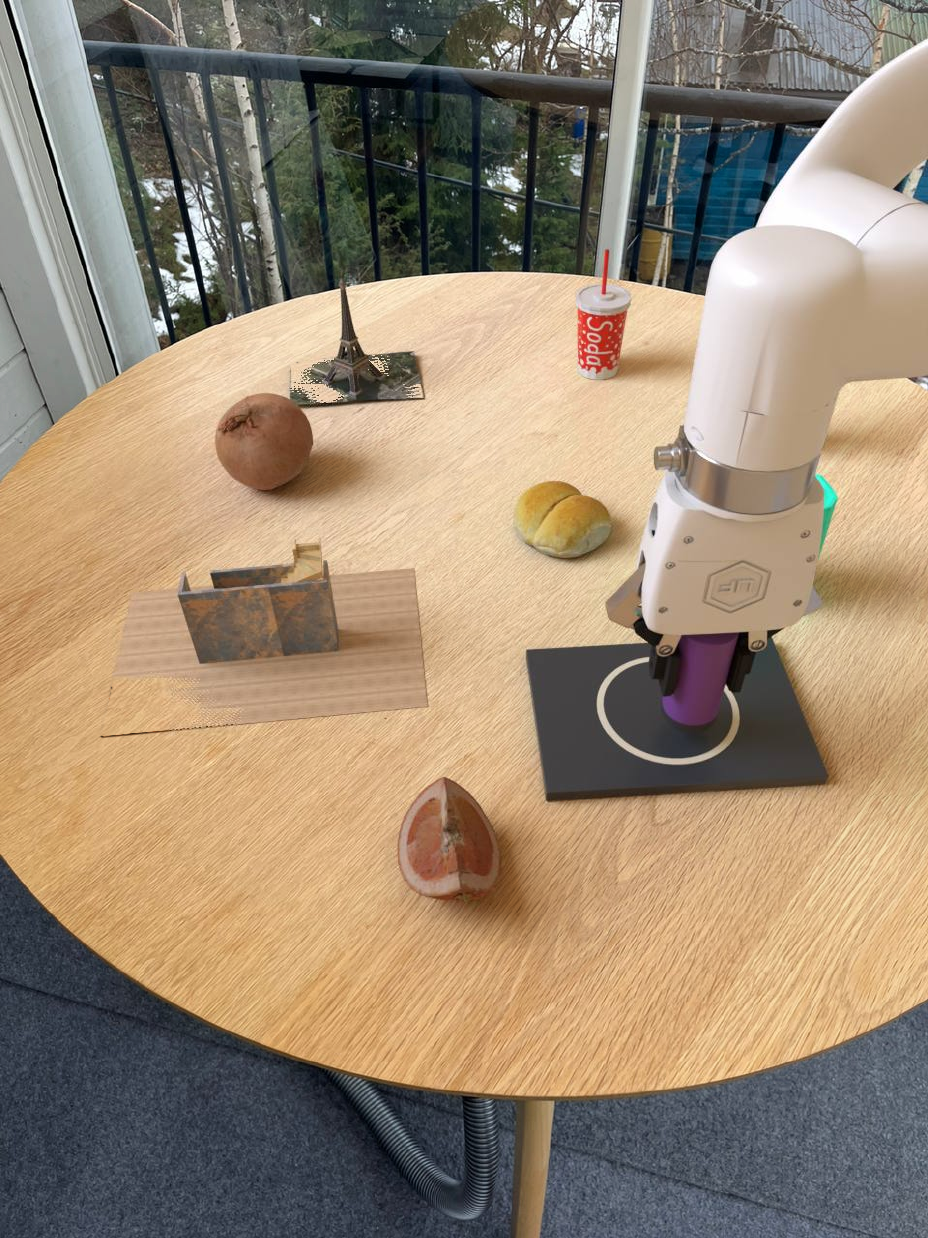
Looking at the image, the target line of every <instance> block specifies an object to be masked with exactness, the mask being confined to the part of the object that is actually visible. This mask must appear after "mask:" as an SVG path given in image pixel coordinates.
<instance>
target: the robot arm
mask: <svg viewBox="0 0 928 1238" xmlns="http://www.w3.org/2000/svg"><path fill="white" fill-rule="evenodd" d="M927 160H928V37H927V38H925V39H923V40H922V41H920V42H919V43H917V44H916V45H914V46H912V47H911V48H909V49H907V50H906V51H904V52H902V53H901V54H899V55H898V56H896V57H895V58H893V59H892V60H890V61H889V62H887V63H885V65H883V66H882V67H880V68H879V69H878V70H876V72H874V73H873V74H871V75H870V76H869V77H867V78H866V79H865V80H864V81H863V82H862V83H861V84H859V86H858V87H856V88H855V89H853V91H852V92H851V93H850V94H849V95H848V96H847V97H846V98H845V99H844V100H843V102H841V104H840V105H838V107H837V108H836V109H835V110H834V111H833V113H832V114H831V115H830V117H828V119H827V120H826V121H825V122H824V124H823V125H822V126H821V127H820V128H819V130H818V131H817V133H815V135H814V136H813V137H812V138H811V140H810V141H809V142H808V143H807V145H806V146H805V148H804V149H803V150H802V151H801V152H800V153H799V155H797V158H796V159H795V160H794V162H793V163H792V164H791V165H790V167H789V168H788V170H787V171H786V173H784V175H783V177H782V178H781V179H780V181H779V182H778V183H777V185H776V187H775V188H774V189H773V191H772V193H771V195H770V196H769V198H768V200H767V201H766V203H765V205H764V207H763V209H762V210H761V212H760V215H759V217H758V220H757V222H756V225H755V226H754V227H752V228H749V229H746V230H743V231H741V232H739V233H736V235H734V236H732V237H731V238H729V239H728V240H727V241H725V243H724V244H722V246H721V247H720V248H719V250H718V251H717V252H716V254H715V256H714V258H713V260H712V262H711V266H710V269H709V275H708V278H707V282H706V290H705V296H704V301H703V307H702V314H701V319H700V326H699V332H698V337H697V341H696V348H695V353H694V354H695V355H694V361H693V365H692V367H693V368H692V371H691V372H692V374H691V377H690V384H689V391H688V397H687V402H686V409H685V415H684V420H683V425H679V429H678V434H677V437H676V438H675V440H674V442H673V443H668V444H667V445H663V446H660V445H659V446H655V447H654V450H653V467H654V469H655V471H665V472H664V474H663V477H662V478H661V480H660V483H659V485H658V488H657V490H656V492H655V495H654V498H653V500H652V503H651V506H650V509H649V510H648V511H649V512H648V514H647V518H646V521H645V525H644V528H643V533H642V537H641V540H640V544H639V549H638V553H637V559H636V564H635V571H634V572H633V573H632V574H631V575H630V576H629V577H628V578H627V579H626V580H625V581H624V583H622V585H620V586H619V587H618V588H617V589H616V590H615V591H614V593H613V594H611V596H610V597H609V598H608V599H607V600H606V601H605V604H604V605H605V610H606V614H607V618H608V620H610V622H612V623H614V624H616V625H619V626H621V627H624V628H626V629H628V630H629V629H631V630H633V631H634V632H635V635H637V636H638V637H640V638H641V639H642V640H644V641H645V643H649V644H651V651H650V657H649V672H650V676H651V679H658V681H659V685H660V688H661V692H662V695H663V697H666V696H671V695H672V694H674V691H675V686H676V681H677V676H678V672H679V667H680V662H681V656H680V653H679V649H678V647H677V645H678V642H679V640H680V638H681V636H682V635H692V634H714V633H733V632H739V635H738V639H737V642H736V646H735V650H734V654H733V658H732V661H731V665H730V669H729V673H728V677H727V680H726V684H727V687H728V690H729V691H731V692H732V693H739V692H741V689H742V685H743V681H744V678H745V674H750V672H751V669H752V665H753V662H754V658H755V655H756V652H757V651H761V650H763V649H764V648H765V647H766V646H767V639H768V638H770V637H772V638H773V637H774V636H775V635H776V634H778V633H780V632H781V631H783V630H784V629H786V628H788V627H791V626H793V625H796V624H797V623H798V622H799V621H801V620H802V618H804V617H805V616H808V615H810V614H812V613H814V612H817V611H818V610H820V609H821V608H822V607H823V604H824V603H823V601H822V598H821V597H820V594H819V592H818V590H817V589H816V587H815V585H814V582H815V577H816V573H817V567H818V562H819V559H818V557H819V558H820V556H819V551H820V543H821V535H822V526H823V515H824V489H823V486H822V485H821V483H820V482H819V481H818V479H817V478H816V477H815V474H816V472H817V469H818V465H819V463H820V458H821V455H822V451H823V448H824V445H825V442H826V438H827V436H828V432H829V428H830V426H831V422H832V419H833V418H832V417H833V415H834V411H835V407H836V404H837V401H838V397H839V395H840V391H841V389H842V388H843V387H844V386H845V385H847V384H849V383H856V382H868V381H883V380H897V379H911V378H919V377H925V376H926V377H927V376H928V204H927V203H925V202H923V201H921V200H919V199H916V198H913V197H912V196H909V195H907V194H904V193H902V192H899V191H898V190H895V187H897V185H898V184H900V183H901V181H903V180H904V179H905V177H906V176H908V175H909V174H910V173H912V172H913V170H915V169H916V168H917V167H919V166H920V165H921V164H922V163H924V162H925V161H927Z"/></svg>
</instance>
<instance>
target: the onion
mask: <svg viewBox="0 0 928 1238" xmlns="http://www.w3.org/2000/svg"><path fill="white" fill-rule="evenodd" d="M312 429H313V428H312V425H311V423H310V421H309V419H308V417H307V414H306V413H304V411H303V410H302V409H301V407H300V406H299V405H298V404H295V403H294V402H293V401H291V400H290V398H288V397H286V396H284V395H281V394H277V393H271V392H260V393H256V394H255V393H254V394H252V395H246V396H245V397H244V398H242V399H240V400H238V401H237V402H236V403H234V404H233V405H231V406H230V407H229V408H228V409H227V410H226V411H225V413H224V414H222V417H221V418H220V420H219V422H218V424H217V427H216V429H215V434H214V435H215V436H214V445H215V451H216V455H217V459H218V461H219V462H220V465H221V466H222V467H223V469H224V470H225V471H226V473H228V474H229V476H230V477H232V478H233V480H235V481H236V482H238V483H239V484H242V485H243V486H246V487H249V488H252V489H256V490H260V491H261V490H262V491H266V490H267V491H268V490H274V489H275V488H278V487H281V486H283V485H285V484H287V483H288V482H290V481H291V480H293V479H294V478H295V477H297V476H298V475H299V474H300V473H301V472H302V471H303V469H305V466H306V464H307V463H308V461H309V459H310V456H311V453H312V449H313V446H314V434H313V430H312Z"/></svg>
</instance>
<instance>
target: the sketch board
mask: <svg viewBox="0 0 928 1238" xmlns="http://www.w3.org/2000/svg"><path fill="white" fill-rule="evenodd" d="M650 651H651V644H649V643H648V642H635V643H619V644H602V645H601V644H599V645H598V644H597V645H583V646H565V647H547V648H530V649H525V662H526V671H527V676H528V681H529V682H528V683H529V691H530V698H531V704H532V711H533V712H532V713H533V719H534V725H535V733H536V741H537V746H538V753H539V760H540V761H539V762H540V767H541V768H540V769H541V776H542V781H543V789H544V796H545V801H546V802H553V801H568V800H570V801H571V800H585V799H601V798H617V797H618V798H619V797H633V796H650V795H651V796H652V795H666V794H668V795H669V794H682V793H683V794H685V793H700V792H701V793H702V792H717V791H719V792H720V791H731V790H733V791H734V790H750V789H751V790H752V789H767V788H783V787H799V786H800V787H801V786H815V785H816V786H818V785H826V784H827V781H828V779H829V776H830V775H829V773H828V770H827V768H826V766H825V763H824V761H823V758H822V756H821V753H820V750H819V748H818V746H817V743H816V742H815V739H814V736H813V734H812V732H811V729H810V726H809V724H808V722H807V719H806V717H805V714H804V712H803V709H802V707H801V705H800V702H799V700H798V697H797V695H796V692H795V690H794V687H793V685H792V682H791V681H790V678H789V675H788V672H787V671H786V668H785V665H784V662H783V660H782V658H781V656H780V653H779V651H778V649H777V646H776V644H775V641H774V638H773V636H772V637H770V638H768V639H767V646H766V647H765V648H764V649H763V650H761V651H757V652H756V655H755V658H754V662H753V665H752V669H751V672H750V674H745V678H744V681H743V685H742V689H741V692H739V693H732V692H731V691H729V690H728V687H727V684H725V688H724V692H723V696H722V700H721V703H720V707H719V711H718V715H717V719H716V721H715V723H714V724H713V726H712V727H710V728H709V729H707V730H705V731H703V732H699V733H687V732H683V731H680V730H677V729H675V728H674V727H672V726H671V725H669V724H668V723H667V722H666V720H665V719H664V717H663V715H662V713H661V704H662V699H663V695H662V692H661V688H660V685H659V681H658V679H651V676H650V672H649V657H650Z"/></svg>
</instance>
